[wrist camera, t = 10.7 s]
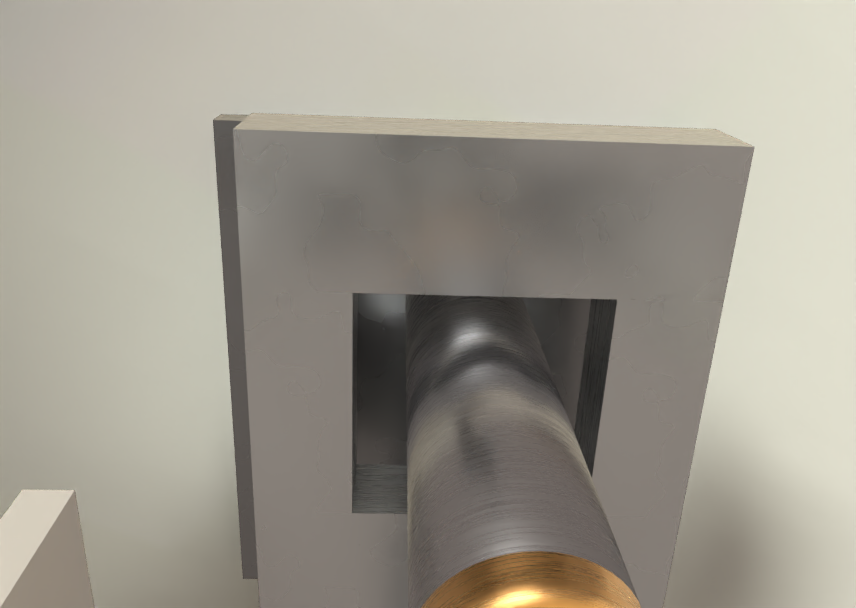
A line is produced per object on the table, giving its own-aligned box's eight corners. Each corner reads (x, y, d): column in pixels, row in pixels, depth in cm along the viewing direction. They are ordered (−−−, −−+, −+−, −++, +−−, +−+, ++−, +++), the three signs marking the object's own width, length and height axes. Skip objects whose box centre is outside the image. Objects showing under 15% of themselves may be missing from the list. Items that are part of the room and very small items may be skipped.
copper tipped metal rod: (406, 239, 23) (415, 673, 8) (521, 243, 23) (721, 674, 9) (403, 344, 24) (405, 874, 10) (511, 346, 24) (670, 871, 10)
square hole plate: (218, 78, 22) (-168, 272, 7) (705, 96, 22) (1293, 309, 8) (248, 559, 28) (79, 1188, 13) (625, 562, 29) (861, 1169, 14)
